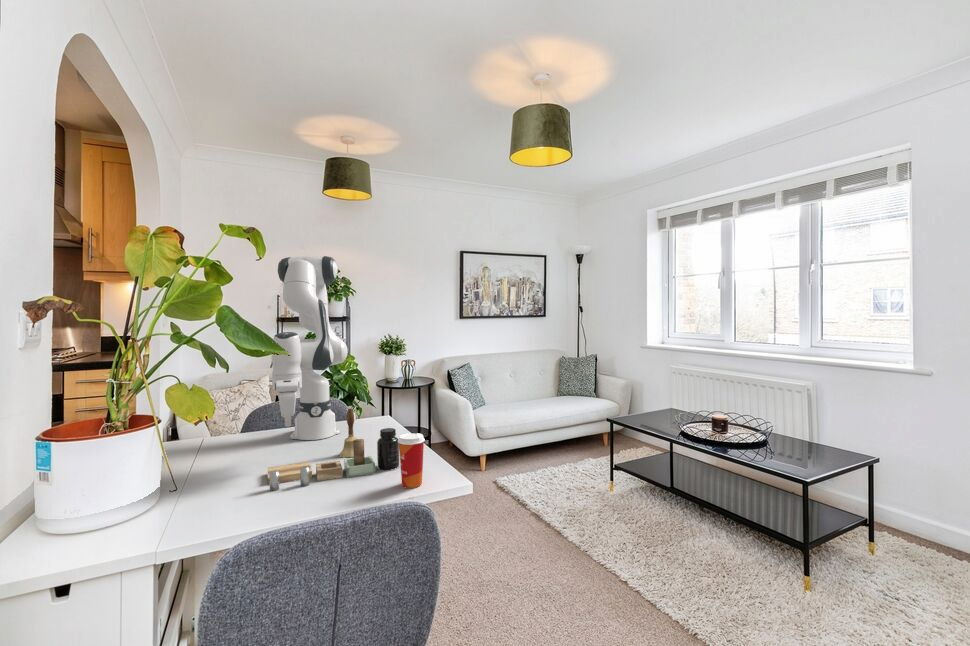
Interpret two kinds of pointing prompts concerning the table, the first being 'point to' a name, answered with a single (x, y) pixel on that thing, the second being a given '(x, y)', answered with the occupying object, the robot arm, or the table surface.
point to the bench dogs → (275, 478)
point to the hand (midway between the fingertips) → (288, 425)
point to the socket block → (329, 470)
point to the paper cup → (411, 459)
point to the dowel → (358, 452)
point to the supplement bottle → (388, 449)
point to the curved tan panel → (289, 471)
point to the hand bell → (349, 437)
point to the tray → (359, 467)
